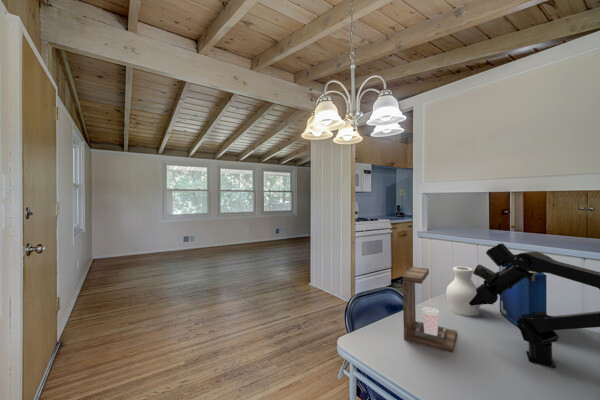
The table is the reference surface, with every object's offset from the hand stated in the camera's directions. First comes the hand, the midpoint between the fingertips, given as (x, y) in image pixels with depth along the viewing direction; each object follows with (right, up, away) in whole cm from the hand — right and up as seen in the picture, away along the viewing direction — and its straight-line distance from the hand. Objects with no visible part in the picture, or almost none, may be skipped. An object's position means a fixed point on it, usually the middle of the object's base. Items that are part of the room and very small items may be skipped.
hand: (472, 300), depth 103 cm
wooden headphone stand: (-16, -14, +1) cm, 21 cm away
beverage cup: (-16, -13, +1) cm, 20 cm away
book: (+26, -13, +9) cm, 31 cm away
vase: (+11, -14, +24) cm, 30 cm away
